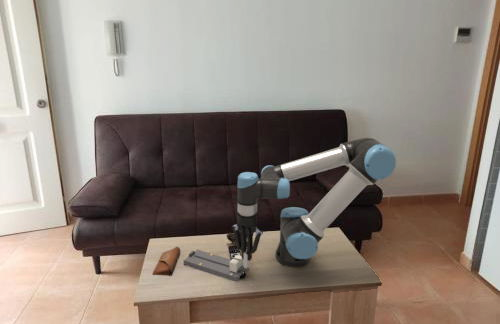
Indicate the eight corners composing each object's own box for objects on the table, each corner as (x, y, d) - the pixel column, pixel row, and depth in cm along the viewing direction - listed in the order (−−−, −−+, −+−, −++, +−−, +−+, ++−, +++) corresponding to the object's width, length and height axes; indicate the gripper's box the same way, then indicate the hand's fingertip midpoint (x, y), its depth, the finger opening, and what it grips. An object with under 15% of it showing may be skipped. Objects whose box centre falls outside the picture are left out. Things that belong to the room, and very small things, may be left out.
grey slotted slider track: (248, 269, 154) (248, 262, 153) (236, 281, 145) (236, 274, 144) (197, 253, 165) (197, 247, 164) (183, 264, 157) (183, 257, 156)
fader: (243, 265, 152) (243, 256, 151) (236, 272, 147) (236, 263, 146) (236, 263, 153) (236, 254, 152) (229, 270, 148) (229, 261, 147)
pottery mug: (249, 239, 179) (254, 229, 173) (248, 256, 172) (252, 247, 166) (225, 234, 177) (229, 224, 172) (223, 251, 170) (227, 241, 165)
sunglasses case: (161, 252, 166) (168, 240, 164) (175, 259, 167) (182, 248, 165) (151, 275, 149) (158, 263, 147) (166, 283, 150) (174, 271, 148)
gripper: (266, 212, 141) (265, 265, 148) (237, 205, 146) (237, 257, 153) (258, 219, 134) (257, 275, 141) (227, 212, 140) (227, 266, 147)
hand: (246, 266), depth 147 cm, fingers closed
